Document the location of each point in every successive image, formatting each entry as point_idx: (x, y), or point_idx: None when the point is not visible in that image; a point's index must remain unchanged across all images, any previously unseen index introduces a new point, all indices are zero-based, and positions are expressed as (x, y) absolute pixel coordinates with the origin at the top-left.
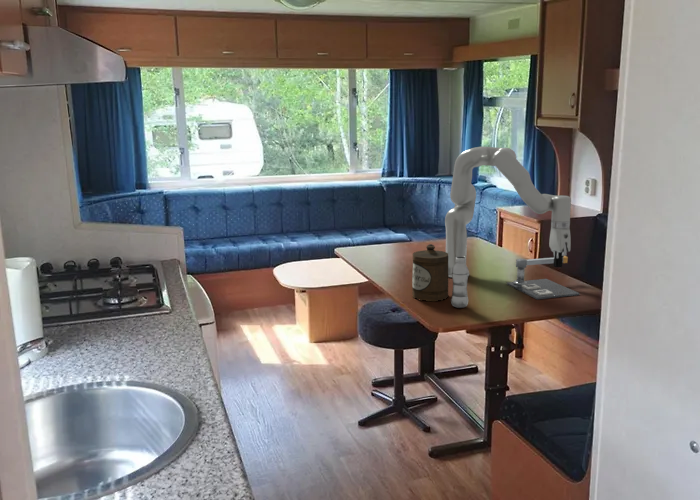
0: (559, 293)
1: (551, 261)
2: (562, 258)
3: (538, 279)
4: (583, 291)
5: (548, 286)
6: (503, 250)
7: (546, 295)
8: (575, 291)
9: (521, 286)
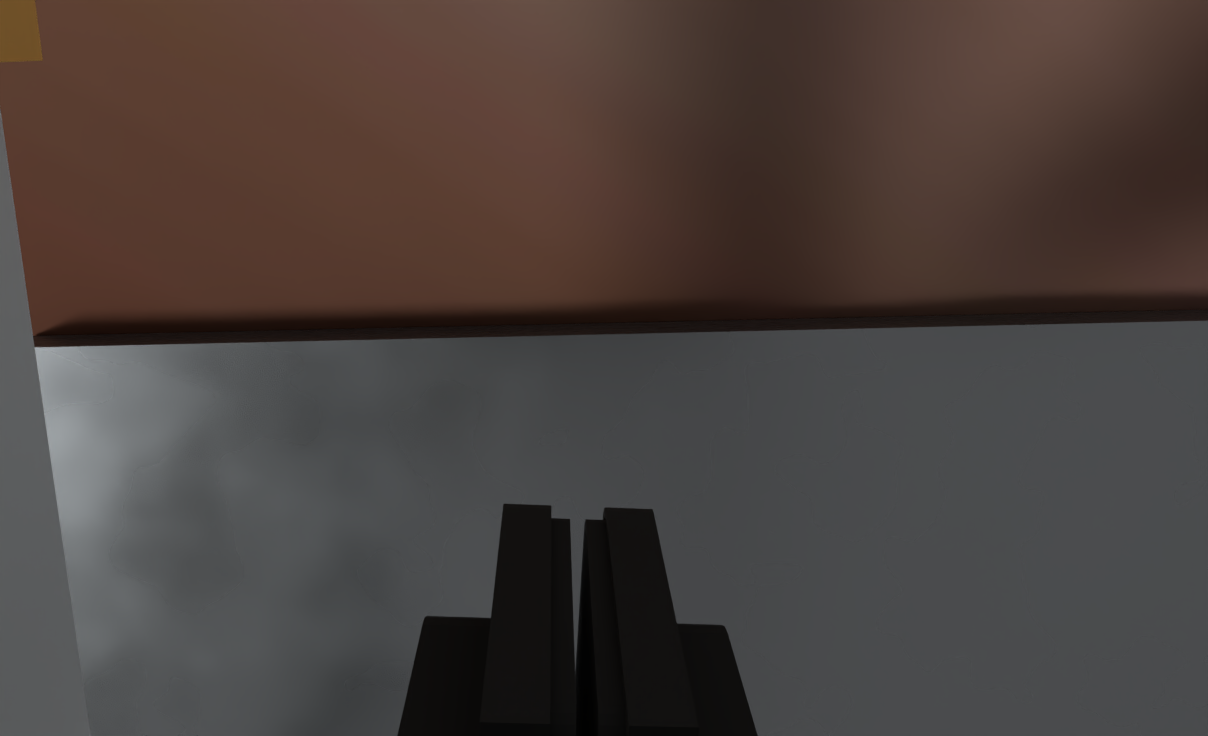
0: (1152, 695)
1: (39, 677)
2: (691, 717)
3: None
4: (1133, 44)
5: None
6: None
7: None
8: (1191, 323)
9: None
